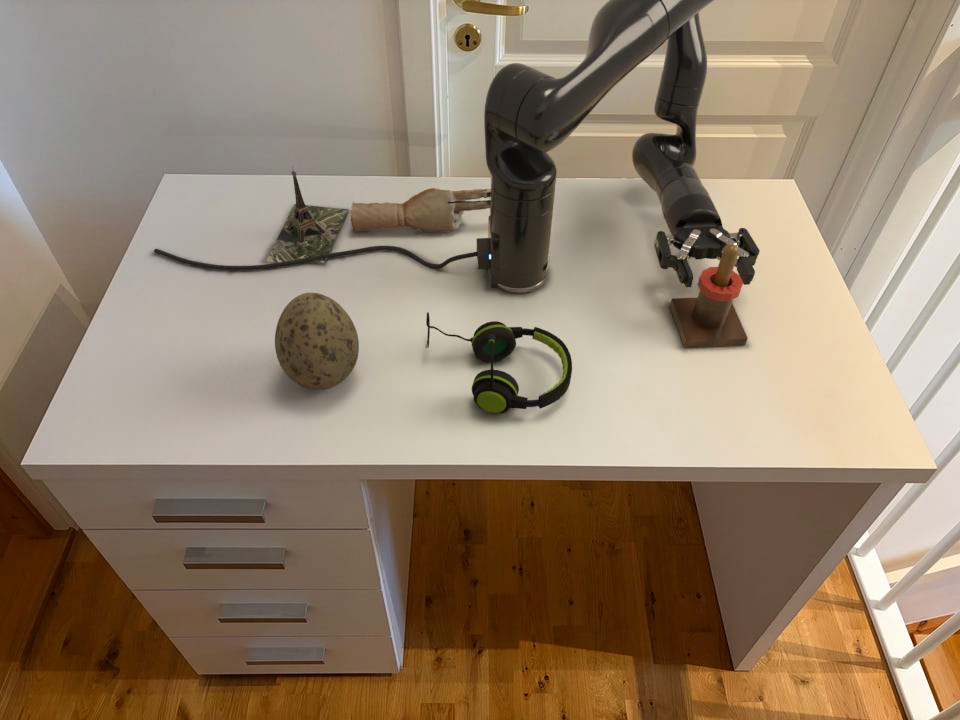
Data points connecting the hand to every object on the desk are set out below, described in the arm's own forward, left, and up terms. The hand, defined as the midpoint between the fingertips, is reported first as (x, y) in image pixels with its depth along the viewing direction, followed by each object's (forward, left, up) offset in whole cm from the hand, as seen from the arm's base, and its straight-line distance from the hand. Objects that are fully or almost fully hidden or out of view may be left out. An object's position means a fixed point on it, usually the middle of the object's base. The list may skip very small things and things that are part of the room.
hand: (719, 281), depth 103 cm
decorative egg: (-56, -7, -8) cm, 57 cm away
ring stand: (0, 0, -8) cm, 8 cm away
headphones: (-32, -8, -8) cm, 34 cm away
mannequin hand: (-41, +26, -8) cm, 49 cm away
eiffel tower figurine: (-61, +25, -8) cm, 66 cm away
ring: (0, 0, 0) cm, 0 cm away
